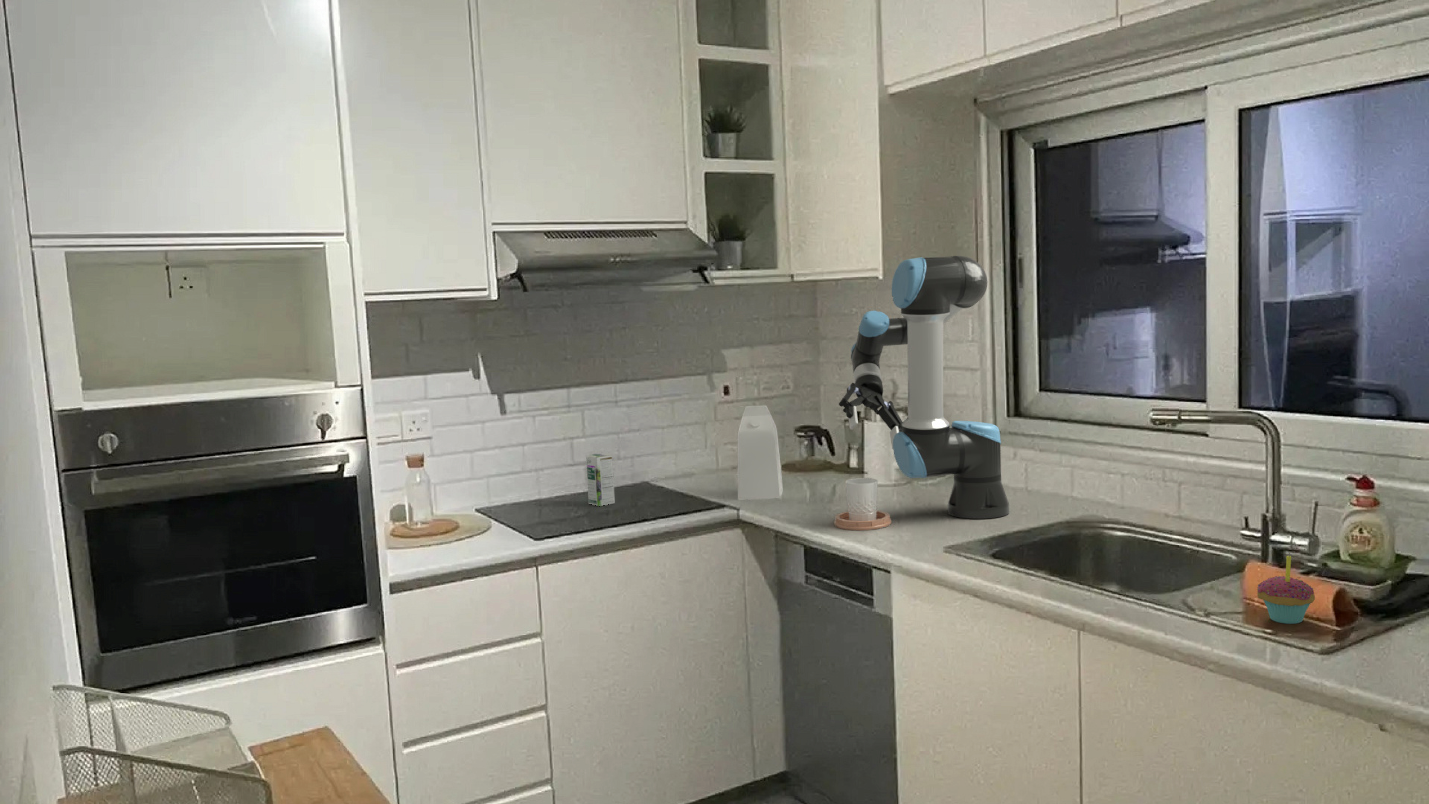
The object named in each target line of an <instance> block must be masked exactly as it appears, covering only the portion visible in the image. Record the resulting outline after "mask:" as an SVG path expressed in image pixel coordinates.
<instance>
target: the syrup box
mask: <svg viewBox="0 0 1429 804" xmlns="http://www.w3.org/2000/svg"><path fill="white" fill-rule="evenodd" d="M585 460H586V461H585V463H586V474H587V475H586V478H587V479H586V481H587V493H588V494H587V496H588V505H589V504H592V505H591V506H595V505H596V507H599V506H600V507H604V506H603V505H605V506H609V505H612V504H615V503H616V497H615V485H614V484H615V482H614V480H615V479H614V468H613V467H614V463H613V454H607V453H591V454H587V455H586V456H585ZM608 504H609V505H608Z"/></svg>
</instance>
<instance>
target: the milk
mask: <svg viewBox="0 0 1429 804" xmlns="http://www.w3.org/2000/svg"><path fill="white" fill-rule="evenodd" d="M779 444H780V443H779V435H778V427H777V425H776V423H775V420H774V418H773V415H771V411H770V410H769V408H768V406H767V404H765V405H746V406H745V408H744V410H743V413H742V417H741V420H740V423H739V428H738V432H737V500H738V499H748V500H774V499H773V498H780V499H781V497H782V494H783V491H784V489H783V487H784V486H783V478H782V476H783V475H782V468H781V458H780V446H779Z"/></svg>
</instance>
